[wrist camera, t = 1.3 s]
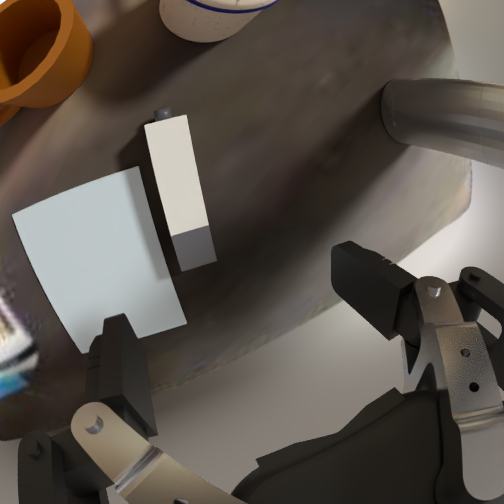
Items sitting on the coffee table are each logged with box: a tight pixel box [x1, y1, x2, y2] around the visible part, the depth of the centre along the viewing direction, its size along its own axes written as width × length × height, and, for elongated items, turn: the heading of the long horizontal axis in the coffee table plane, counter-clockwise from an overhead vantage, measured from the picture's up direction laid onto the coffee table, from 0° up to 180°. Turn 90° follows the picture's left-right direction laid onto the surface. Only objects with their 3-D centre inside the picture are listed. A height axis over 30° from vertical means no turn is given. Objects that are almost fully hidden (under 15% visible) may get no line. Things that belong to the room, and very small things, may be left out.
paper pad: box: [12, 166, 187, 354], centre depth 25 cm, size 14×18×1 cm
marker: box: [144, 108, 217, 272], centre depth 24 cm, size 14×3×3 cm, turn 9°
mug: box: [0, 0, 94, 127], centre depth 12 cm, size 9×12×9 cm
